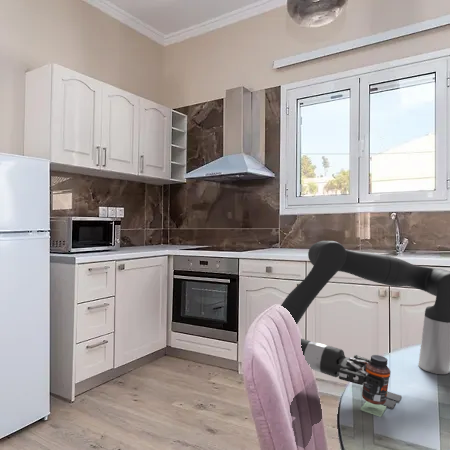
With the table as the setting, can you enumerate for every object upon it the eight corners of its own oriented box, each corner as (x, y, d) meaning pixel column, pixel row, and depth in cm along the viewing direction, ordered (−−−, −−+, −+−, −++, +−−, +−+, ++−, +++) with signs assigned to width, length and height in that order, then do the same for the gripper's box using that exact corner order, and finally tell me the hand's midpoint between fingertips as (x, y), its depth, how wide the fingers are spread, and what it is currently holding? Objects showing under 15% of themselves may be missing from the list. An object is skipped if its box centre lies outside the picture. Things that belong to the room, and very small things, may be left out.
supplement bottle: (383, 408, 103) (389, 365, 102) (358, 400, 106) (364, 357, 105) (387, 399, 108) (393, 357, 107) (364, 391, 111) (370, 351, 110)
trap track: (375, 388, 119) (375, 387, 119) (401, 397, 115) (401, 395, 115) (360, 410, 106) (360, 408, 106) (389, 420, 102) (389, 418, 102)
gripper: (315, 352, 108) (382, 373, 99) (334, 339, 120) (395, 356, 111) (312, 380, 109) (378, 403, 99) (331, 363, 121) (391, 383, 111)
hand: (386, 378), depth 105 cm, fingers closed on supplement bottle, 6 cm apart
